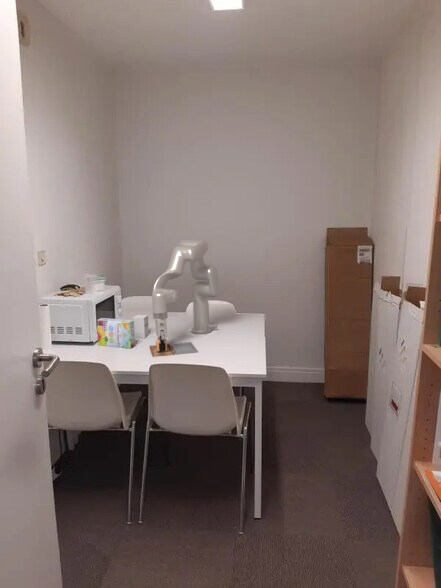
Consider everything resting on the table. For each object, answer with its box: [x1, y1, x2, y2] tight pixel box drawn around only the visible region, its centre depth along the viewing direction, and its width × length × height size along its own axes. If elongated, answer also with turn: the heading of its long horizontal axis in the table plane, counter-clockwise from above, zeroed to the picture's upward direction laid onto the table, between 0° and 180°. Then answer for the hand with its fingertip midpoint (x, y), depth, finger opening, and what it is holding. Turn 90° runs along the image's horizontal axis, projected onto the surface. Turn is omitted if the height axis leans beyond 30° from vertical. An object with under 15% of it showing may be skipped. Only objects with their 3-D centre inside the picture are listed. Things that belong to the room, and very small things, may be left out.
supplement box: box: [132, 314, 150, 339], centre depth 267 cm, size 7×7×13 cm
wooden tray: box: [149, 343, 175, 358], centre depth 237 cm, size 11×14×2 cm
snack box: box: [96, 317, 136, 349], centre depth 250 cm, size 21×6×15 cm, turn 71°
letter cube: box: [155, 338, 168, 351], centre depth 236 cm, size 5×5×5 cm
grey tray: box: [171, 341, 198, 356], centre depth 240 cm, size 11×14×2 cm
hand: (161, 348), depth 237 cm, fingers closed on letter cube, 4 cm apart
